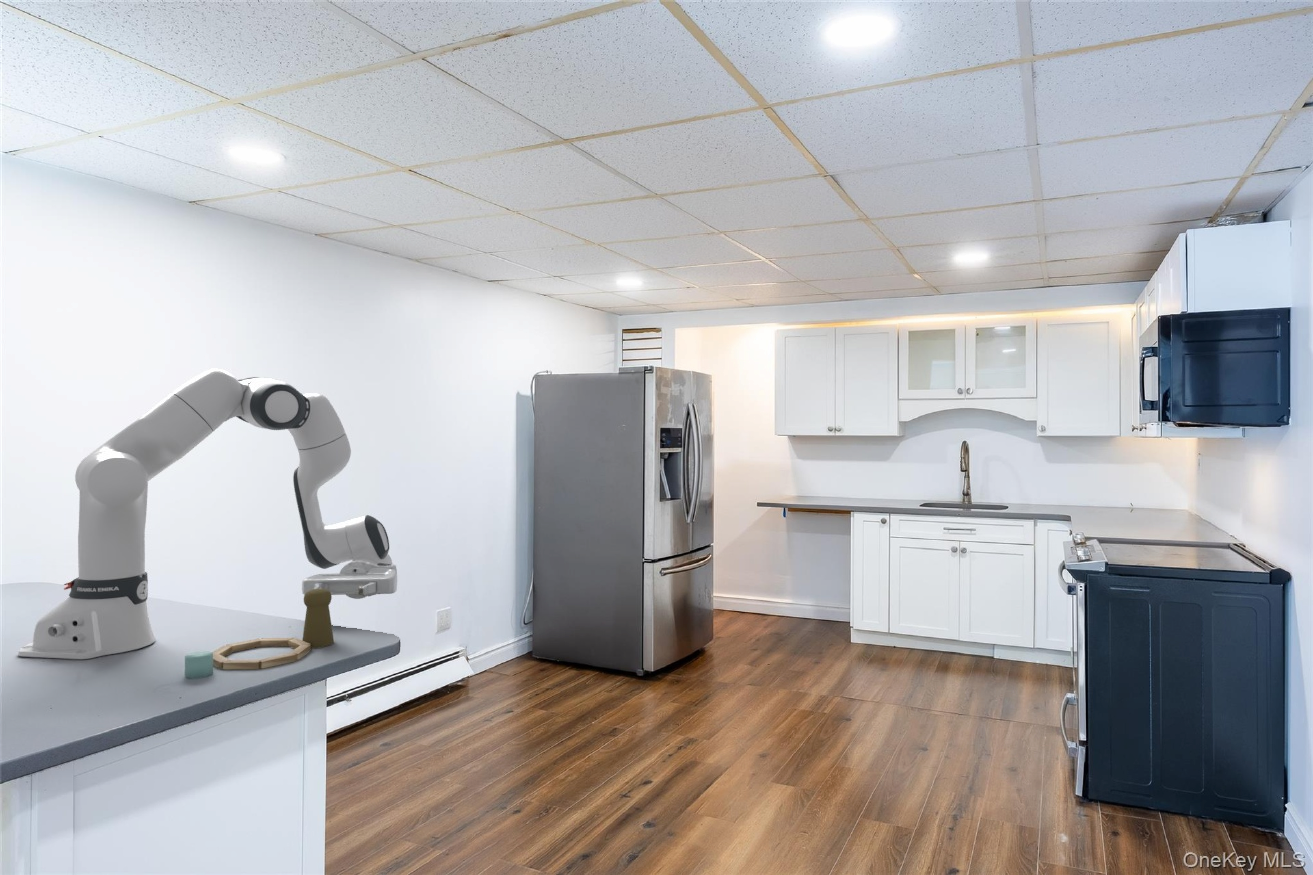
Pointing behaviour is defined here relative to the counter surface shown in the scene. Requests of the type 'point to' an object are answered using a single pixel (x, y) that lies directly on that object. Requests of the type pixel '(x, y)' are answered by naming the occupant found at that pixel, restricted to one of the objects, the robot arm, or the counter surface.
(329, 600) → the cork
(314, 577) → the robot arm
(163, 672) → the counter surface
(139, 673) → the counter surface
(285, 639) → the wooden segmented ring
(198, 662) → the loose bead
